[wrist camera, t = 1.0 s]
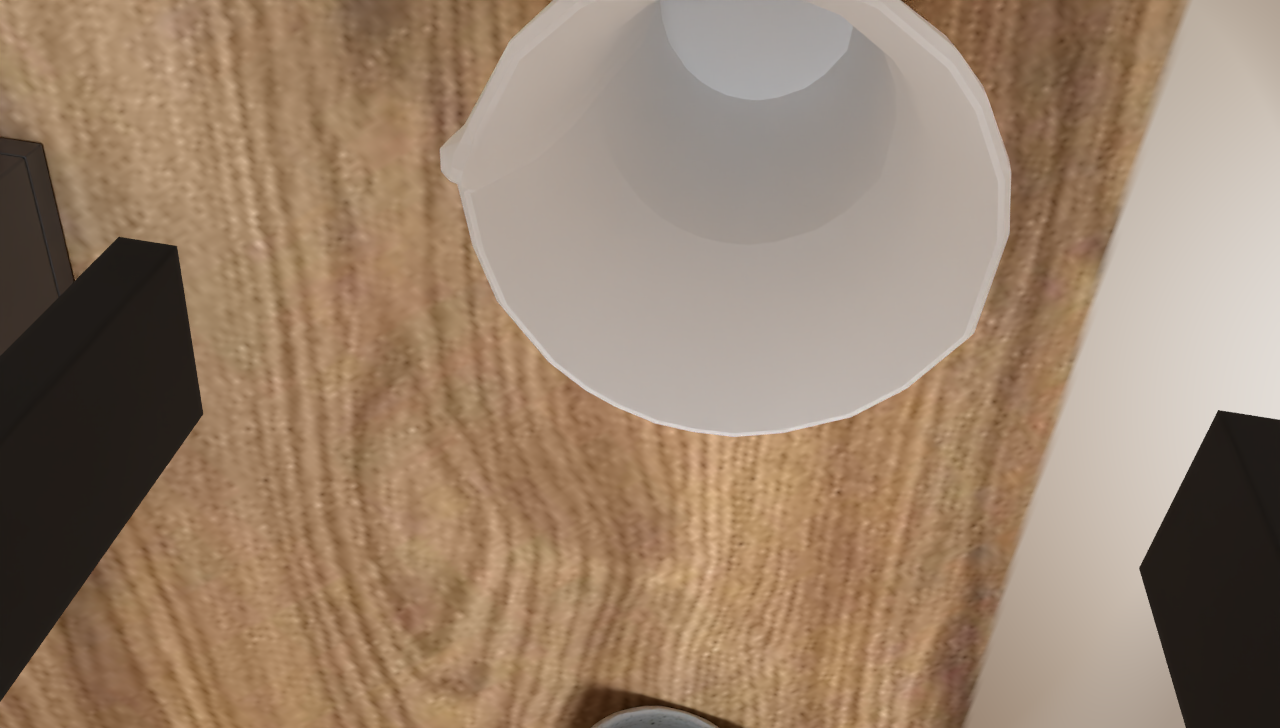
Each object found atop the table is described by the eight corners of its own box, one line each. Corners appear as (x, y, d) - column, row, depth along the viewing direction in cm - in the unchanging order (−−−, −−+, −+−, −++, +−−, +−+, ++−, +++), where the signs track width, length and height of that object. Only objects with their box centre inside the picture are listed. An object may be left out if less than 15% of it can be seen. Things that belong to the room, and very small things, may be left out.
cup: (599, -259, 24) (479, -136, 16) (1035, -125, 24) (1130, 63, 16) (520, 127, 29) (399, 365, 21) (877, 232, 30) (890, 505, 22)
